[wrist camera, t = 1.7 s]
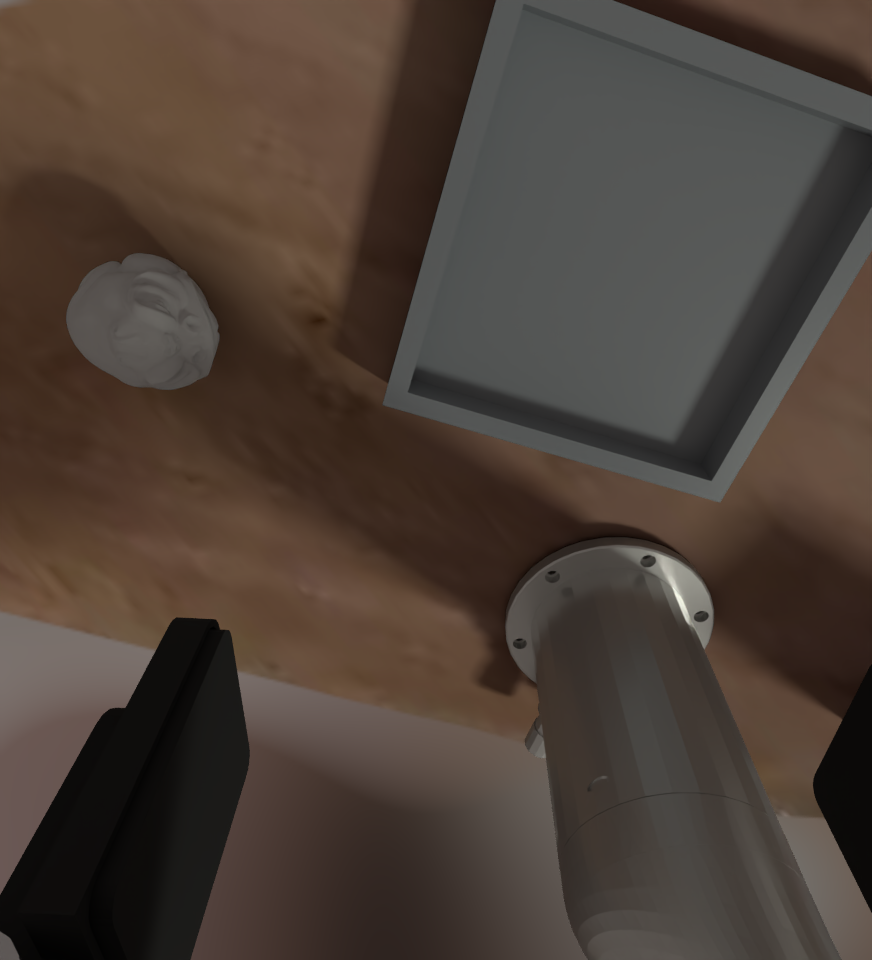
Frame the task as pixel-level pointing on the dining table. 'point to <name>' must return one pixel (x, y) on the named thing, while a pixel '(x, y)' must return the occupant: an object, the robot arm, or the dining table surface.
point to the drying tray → (634, 243)
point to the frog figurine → (144, 323)
